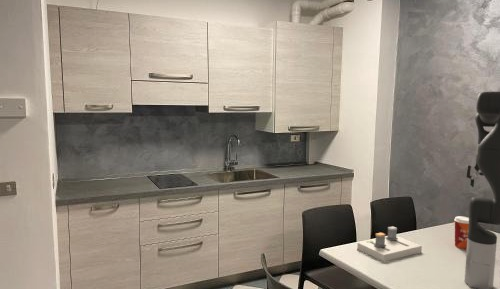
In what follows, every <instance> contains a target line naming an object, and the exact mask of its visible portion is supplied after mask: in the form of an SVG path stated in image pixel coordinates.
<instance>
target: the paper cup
mask: <svg viewBox="0 0 500 289" xmlns="http://www.w3.org/2000/svg"><path fill="white" fill-rule="evenodd" d="M468 228H469V217H467V216H462V215H461V216H459V215H458V216H455V217H454V246H455V247H456V248H458V249H463V250H467V239H468Z"/></svg>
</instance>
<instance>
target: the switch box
mask: <svg viewBox="0 0 500 289" xmlns="http://www.w3.org/2000/svg"><path fill="white" fill-rule="evenodd" d="M386 237H388V235H386V236H385V245H386V246H384V247H380V248H379V247H376V246H374V244H375V243H376V238H372V239H368V240H364V241H358V242H357V250H359V251H361V252H363V253H366V254H367V255H369V256H371V257H373V258H375V259H377V260H379V261H381V262H387V261H392V260H395V259H396V260H397V259H399V258H404V257H408V256H412V255H415V254H419V253H422V251H423V250H422V248H423V246H422V245H421V244H417V243H416V242H413V241H412V240H411V241H410V240H408V239H406V238H403V237H401V236H397V235H396V237H397V238H398V239H396V240H392V241H391V240H388V239H386Z"/></svg>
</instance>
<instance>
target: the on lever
mask: <svg viewBox="0 0 500 289" xmlns="http://www.w3.org/2000/svg"><path fill="white" fill-rule="evenodd" d="M397 231H398V228H397V227H395V226H393V225H392V226H388V227H387V236H388V237H387V236H385V237H386V239H388V240H391V241H392V240H396V239H398V238H397V237H396V236H397Z"/></svg>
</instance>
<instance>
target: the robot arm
mask: <svg viewBox="0 0 500 289" xmlns="http://www.w3.org/2000/svg"><path fill="white" fill-rule="evenodd" d="M475 107H476V108H475V109H476V112H477V113H476V114H475V118H474V120H475V125H476V127H477V135H478V138H477V147H476V152H475V153H476V155H475V156H476V158H475V165H471V164H469V165H468V166H467V172H466V178H467V179H468V178H469V179H470V184H469V185H470V186H471V188H474V187H475V178H477V177H478V176H481V177H482V176H484V178H485V179H486V180H487V181H486V182H487V183H488V185H489V186H490V188H491V191H492V195H493V198H487V197H478V196H473V197H471V198H470V200H469V203H468V218H469V228H468V239H467V249H466V255H465V257H466V258H465V266H464V267H465V268H464V269H465V270H464V282H465V284H467V285H468V287H469V288H474V289H493V288H494V282H495V280H494V279H495V268H496V267H495V266H496V252H497V242H498V236H497V235H496V233H494V232H492V231H490V230H489V229H486V228H485V227H483V226H481V224H479V223H482V224H488V225H495V226H500V91H482V92H480V93H479V94H478V95H477V98H476V105H475ZM487 127H488V128H489V127H490V128H492V129H491V131H489V130H486V129H485V128H487ZM473 169H474V170H475V172H474V173H473V174H472V175H471V171H473Z"/></svg>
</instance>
